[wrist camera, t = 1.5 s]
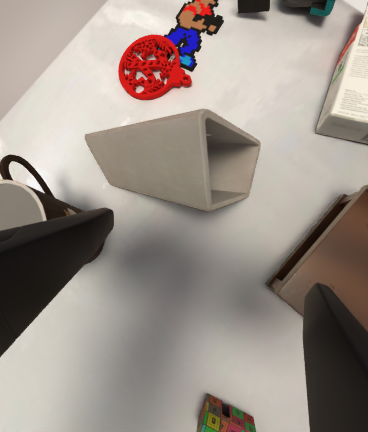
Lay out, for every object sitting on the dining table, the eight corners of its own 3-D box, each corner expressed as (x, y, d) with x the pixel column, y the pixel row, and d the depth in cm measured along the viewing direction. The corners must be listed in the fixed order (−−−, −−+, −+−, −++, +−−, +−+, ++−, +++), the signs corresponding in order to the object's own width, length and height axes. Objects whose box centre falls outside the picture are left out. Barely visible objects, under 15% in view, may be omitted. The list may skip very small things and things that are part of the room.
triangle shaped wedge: (21, 184, 22) (192, 218, 12) (14, 120, 20) (201, 103, 11) (128, 180, 34) (253, 195, 25) (128, 140, 33) (261, 140, 24)
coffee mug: (106, 280, 25) (32, 303, 15) (42, 268, 26) (-62, 282, 17) (123, 183, 26) (65, 146, 16) (61, 177, 28) (-25, 140, 18)
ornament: (111, 88, 28) (177, 113, 26) (108, 86, 28) (175, 111, 26) (137, 32, 28) (205, 52, 26) (134, 28, 27) (205, 48, 25)
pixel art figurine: (152, 53, 28) (201, -24, 28) (153, 56, 28) (201, -20, 28) (192, 70, 26) (242, -11, 27) (192, 73, 27) (242, -7, 27)
